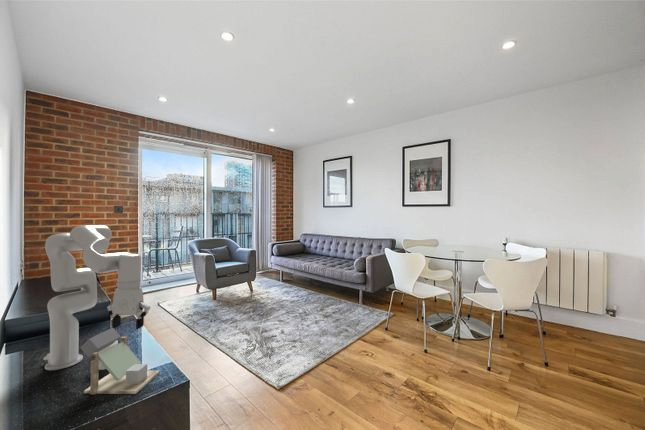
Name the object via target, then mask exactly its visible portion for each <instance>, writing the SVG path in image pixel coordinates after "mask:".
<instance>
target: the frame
mask: <svg viewBox="0 0 645 430" xmlns="http://www.w3.org/2000/svg"><path fill="white" fill-rule="evenodd" d="M128 341H129V338H128V336H120V343H121V342H124V343H125V344H126V345H127V346H128ZM88 358H89V361H90V383H89V384H90V386H89V387H88V388H86V389H85V390H83V392H84V393H83V394H89V395H97V394H108V395H109V394H110V395H113V394H114V395H116V394H119V395H136V394H138V392H140V391H141V390H142V389H143V388H144V387H145V386H146V385H148V384H149V383H150V382H151V381H153V379H155V378H156V377H157V376H158V375H159V374H160V373H161V370H160V369H159V370H157V369H156V370H151V369H149V370H148V369H147V377H146V378H145V379H144V380H142V381H141V382H140V383H139V384H126V375H125V376H123V377H122V378H120V379H119V380H118V381H116V380H115V378H114V377H113V376H112V375H111V374H110V373H108V374H107V375H106V376H104V377H102V378H101V379H99V372H100V370H99V352H93V353H91V356H90V357H88Z"/></svg>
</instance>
